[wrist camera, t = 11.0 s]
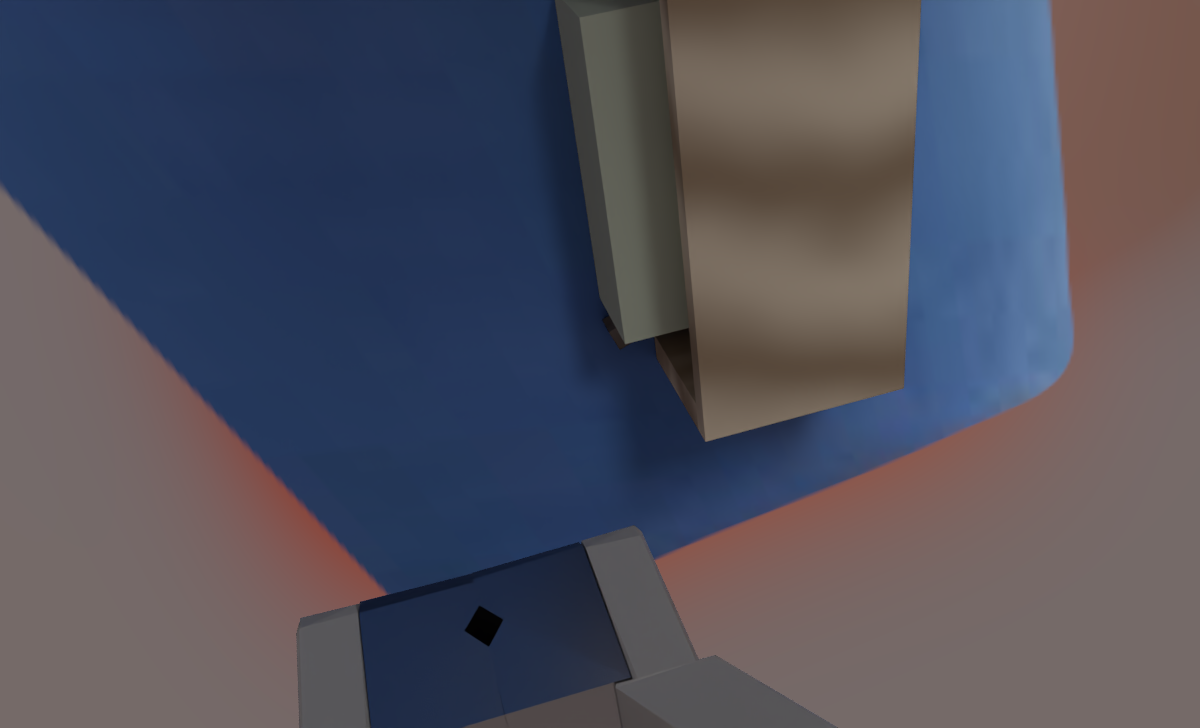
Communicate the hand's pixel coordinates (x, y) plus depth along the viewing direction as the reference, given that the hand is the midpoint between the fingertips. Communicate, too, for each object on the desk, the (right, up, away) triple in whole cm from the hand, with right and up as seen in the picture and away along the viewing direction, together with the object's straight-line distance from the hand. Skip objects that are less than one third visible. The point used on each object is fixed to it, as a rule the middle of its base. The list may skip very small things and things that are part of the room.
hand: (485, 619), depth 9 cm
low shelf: (+5, +11, +30) cm, 32 cm away
